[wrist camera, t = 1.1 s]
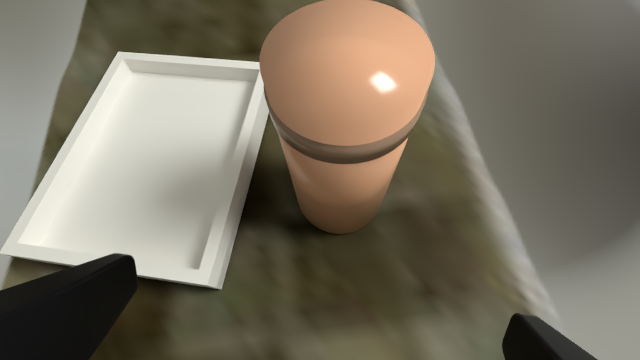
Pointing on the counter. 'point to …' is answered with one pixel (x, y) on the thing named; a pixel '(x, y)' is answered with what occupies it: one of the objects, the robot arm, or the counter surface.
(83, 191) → the tray
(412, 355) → the counter surface
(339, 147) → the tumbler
